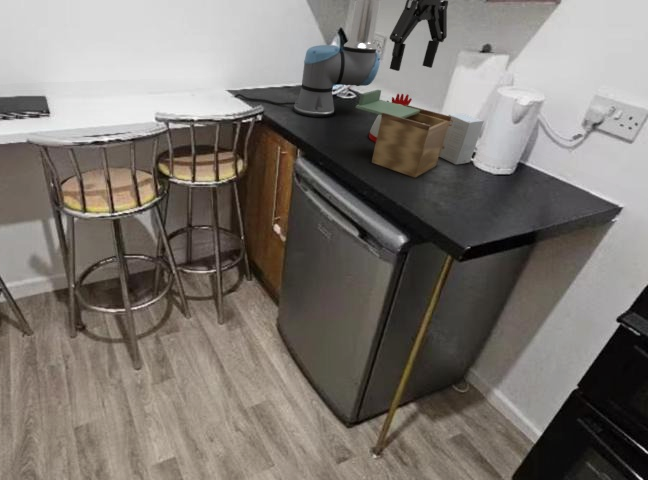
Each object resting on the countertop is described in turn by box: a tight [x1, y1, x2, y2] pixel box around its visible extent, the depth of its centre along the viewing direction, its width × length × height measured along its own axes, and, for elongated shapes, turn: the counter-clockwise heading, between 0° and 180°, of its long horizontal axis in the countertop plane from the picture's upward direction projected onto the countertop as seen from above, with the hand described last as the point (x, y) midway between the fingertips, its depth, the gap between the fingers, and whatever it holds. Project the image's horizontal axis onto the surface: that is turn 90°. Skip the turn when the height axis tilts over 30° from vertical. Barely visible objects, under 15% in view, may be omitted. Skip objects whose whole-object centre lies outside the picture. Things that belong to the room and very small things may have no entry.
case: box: [371, 104, 451, 179], centre depth 131 cm, size 14×14×15 cm
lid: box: [355, 89, 420, 118], centre depth 132 cm, size 14×13×4 cm
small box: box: [439, 113, 485, 166], centre depth 138 cm, size 8×6×13 cm
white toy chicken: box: [368, 93, 412, 143], centre depth 150 cm, size 14×14×15 cm
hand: (411, 68), depth 124 cm, fingers open, 13 cm apart
